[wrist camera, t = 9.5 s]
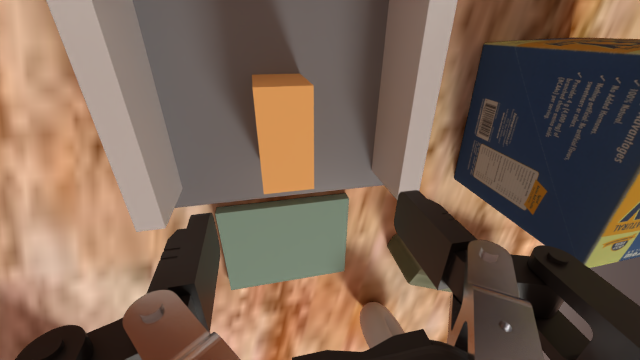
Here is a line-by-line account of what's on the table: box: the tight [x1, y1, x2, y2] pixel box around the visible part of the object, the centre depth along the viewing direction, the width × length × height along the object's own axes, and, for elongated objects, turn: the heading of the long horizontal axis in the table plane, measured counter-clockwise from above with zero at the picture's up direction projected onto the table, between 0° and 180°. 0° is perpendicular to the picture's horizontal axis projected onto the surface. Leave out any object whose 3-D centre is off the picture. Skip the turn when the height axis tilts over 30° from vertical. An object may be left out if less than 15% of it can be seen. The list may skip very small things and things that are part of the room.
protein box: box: [454, 38, 640, 268], centre depth 25 cm, size 10×15×16 cm
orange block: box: [252, 74, 314, 194], centre depth 23 cm, size 4×8×6 cm, turn 178°
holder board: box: [46, 0, 458, 232], centre depth 22 cm, size 24×20×7 cm
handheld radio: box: [387, 234, 452, 292], centre depth 39 cm, size 7×3×25 cm
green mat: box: [215, 193, 349, 290], centre depth 32 cm, size 14×11×1 cm
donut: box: [360, 302, 404, 348], centre depth 38 cm, size 10×3×10 cm, turn 37°
